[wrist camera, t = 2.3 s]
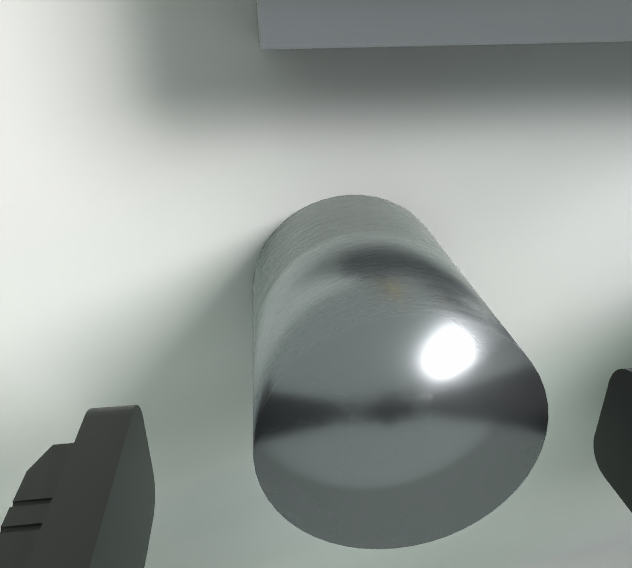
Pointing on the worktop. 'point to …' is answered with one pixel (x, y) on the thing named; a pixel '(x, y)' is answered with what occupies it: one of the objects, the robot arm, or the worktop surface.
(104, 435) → the robot arm
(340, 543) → the cylinder
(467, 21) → the scale
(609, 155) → the worktop surface
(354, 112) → the worktop surface
